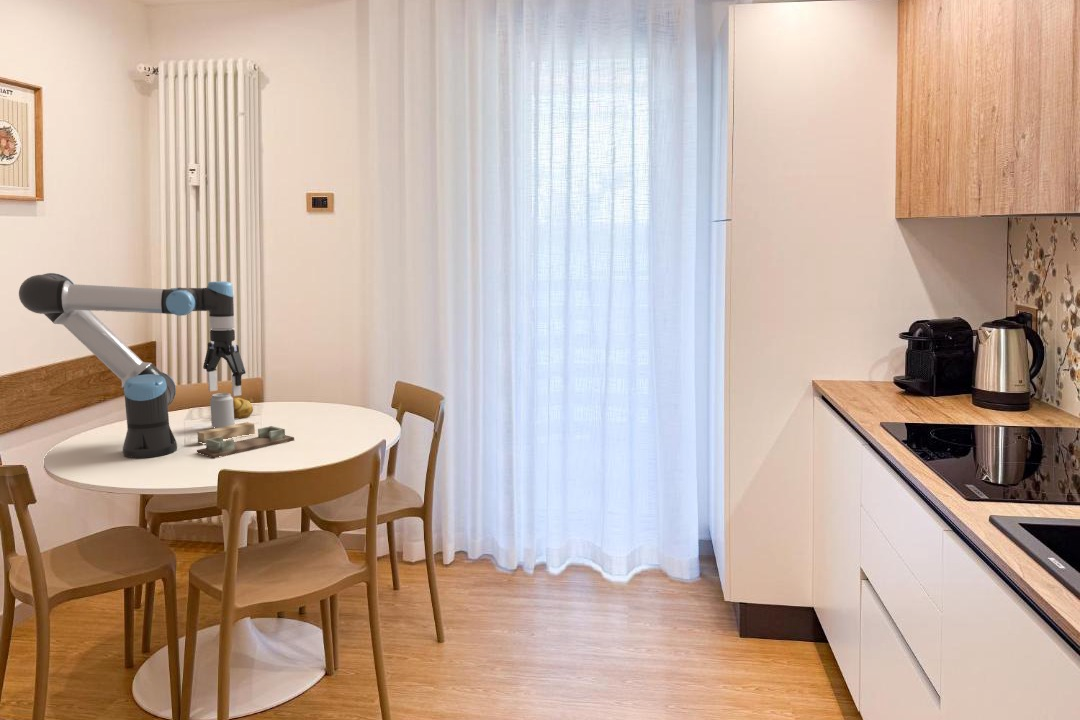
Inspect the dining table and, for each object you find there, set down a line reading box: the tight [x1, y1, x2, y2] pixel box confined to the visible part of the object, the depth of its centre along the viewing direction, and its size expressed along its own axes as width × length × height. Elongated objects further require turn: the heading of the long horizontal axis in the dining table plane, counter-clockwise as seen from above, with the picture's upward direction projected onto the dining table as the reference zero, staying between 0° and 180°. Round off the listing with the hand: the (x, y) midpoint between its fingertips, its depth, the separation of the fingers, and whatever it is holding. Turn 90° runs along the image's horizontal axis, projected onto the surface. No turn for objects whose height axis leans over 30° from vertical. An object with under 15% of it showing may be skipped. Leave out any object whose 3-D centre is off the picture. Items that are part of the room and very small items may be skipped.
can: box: [209, 392, 236, 428], centre depth 283 cm, size 8×8×12 cm
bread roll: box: [233, 396, 254, 419], centre depth 302 cm, size 13×10×8 cm
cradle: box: [196, 425, 295, 458], centre depth 257 cm, size 28×10×4 cm, turn 141°
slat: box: [196, 421, 256, 443], centre depth 267 cm, size 18×4×4 cm, turn 141°
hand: (225, 393), depth 267 cm, fingers open, 13 cm apart
